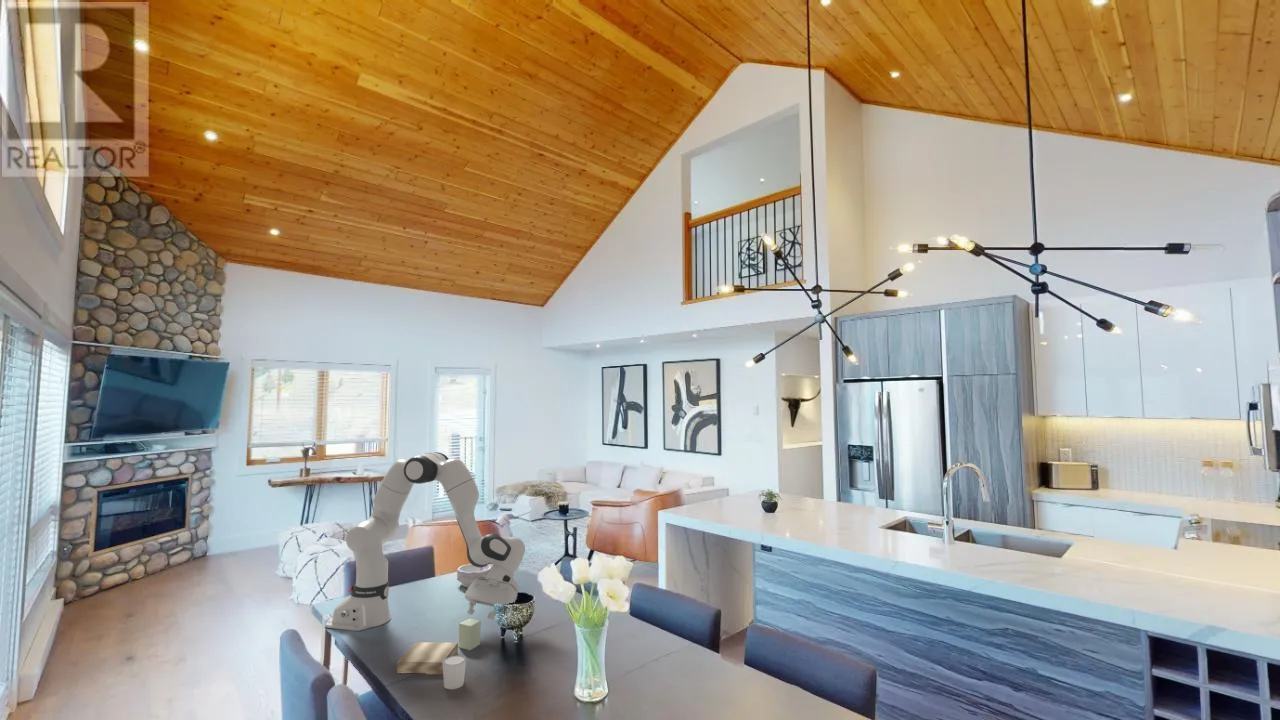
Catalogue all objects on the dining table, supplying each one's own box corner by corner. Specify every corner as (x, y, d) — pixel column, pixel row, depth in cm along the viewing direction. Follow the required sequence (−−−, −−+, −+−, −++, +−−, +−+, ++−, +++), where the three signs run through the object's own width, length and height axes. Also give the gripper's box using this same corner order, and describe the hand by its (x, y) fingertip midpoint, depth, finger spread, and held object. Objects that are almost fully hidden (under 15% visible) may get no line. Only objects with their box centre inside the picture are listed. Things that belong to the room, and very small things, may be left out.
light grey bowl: (497, 581, 262) (497, 563, 262) (480, 591, 247) (481, 573, 248) (468, 578, 265) (468, 561, 266) (449, 589, 251) (450, 571, 251)
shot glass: (470, 680, 169) (471, 657, 169) (456, 692, 162) (456, 667, 163) (451, 677, 171) (452, 653, 172) (436, 688, 165) (437, 663, 165)
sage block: (458, 647, 192) (459, 623, 192) (469, 641, 196) (469, 618, 197) (469, 650, 190) (470, 626, 190) (480, 644, 194) (480, 620, 195)
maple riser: (397, 675, 173) (397, 661, 174) (416, 654, 187) (416, 642, 188) (441, 675, 173) (442, 662, 173) (457, 655, 187) (457, 642, 187)
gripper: (473, 571, 210) (453, 606, 200) (516, 579, 201) (497, 616, 191) (481, 580, 213) (461, 615, 204) (524, 588, 204) (506, 625, 195)
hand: (479, 616), depth 198 cm, fingers open, 8 cm apart
